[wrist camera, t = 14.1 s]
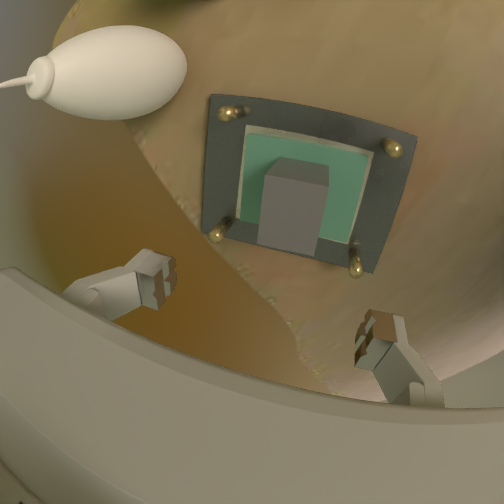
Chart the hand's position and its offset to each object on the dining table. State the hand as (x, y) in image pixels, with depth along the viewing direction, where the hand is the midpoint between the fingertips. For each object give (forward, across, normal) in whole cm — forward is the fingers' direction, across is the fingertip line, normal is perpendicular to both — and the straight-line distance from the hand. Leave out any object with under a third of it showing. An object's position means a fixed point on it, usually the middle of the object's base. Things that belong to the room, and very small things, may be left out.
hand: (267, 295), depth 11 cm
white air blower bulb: (+16, +14, -9) cm, 23 cm away
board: (+15, 0, 0) cm, 15 cm away
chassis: (+16, 0, 0) cm, 16 cm away
